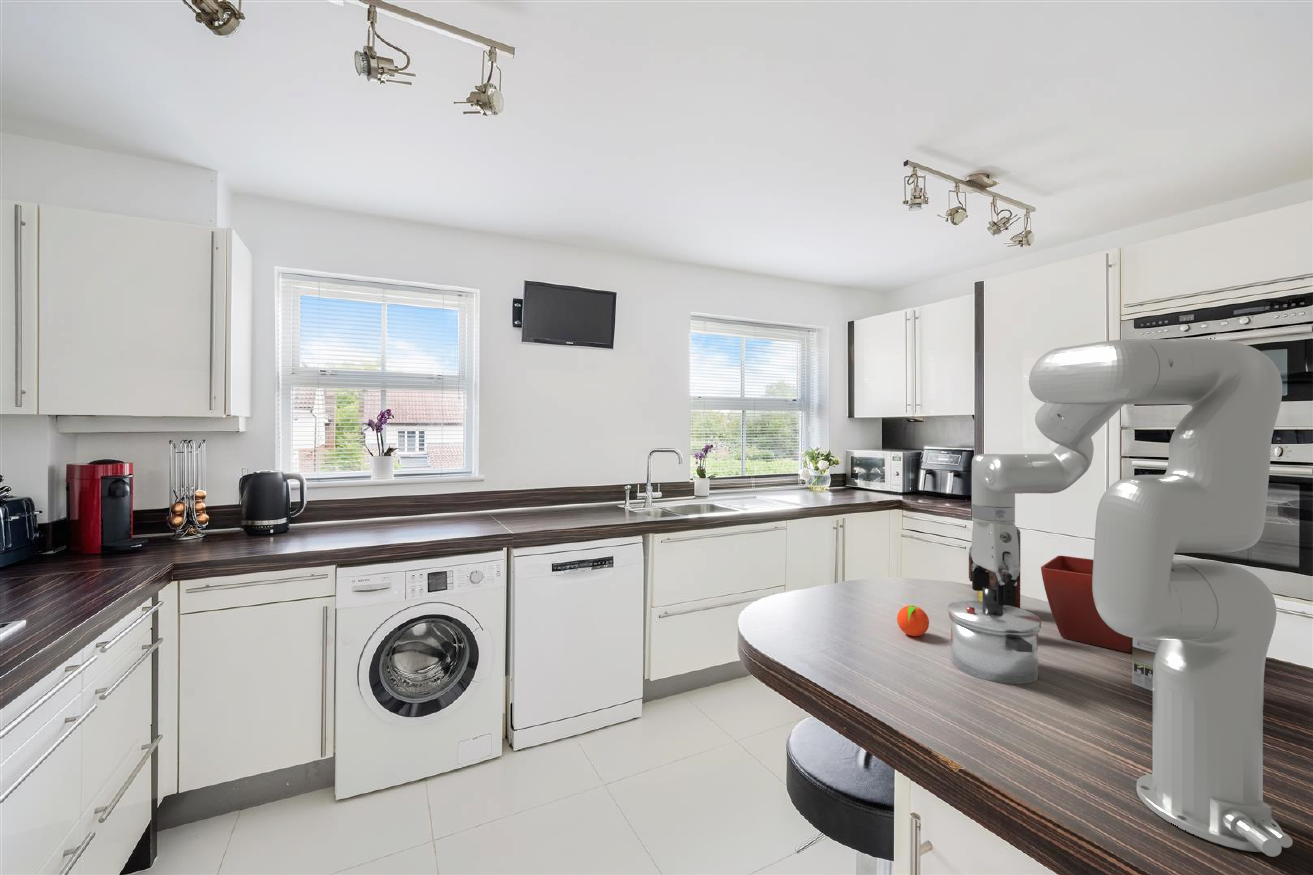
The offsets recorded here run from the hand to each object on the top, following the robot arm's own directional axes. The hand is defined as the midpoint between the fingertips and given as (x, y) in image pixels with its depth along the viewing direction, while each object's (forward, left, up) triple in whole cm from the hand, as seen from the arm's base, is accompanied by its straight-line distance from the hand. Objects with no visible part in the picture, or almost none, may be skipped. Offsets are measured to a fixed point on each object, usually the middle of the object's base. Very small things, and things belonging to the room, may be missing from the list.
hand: (992, 597), depth 108 cm
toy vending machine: (+38, -19, -14) cm, 45 cm away
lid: (0, 0, -4) cm, 4 cm away
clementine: (+16, +10, -15) cm, 24 cm away
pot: (0, 0, -14) cm, 14 cm away
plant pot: (+19, -33, -15) cm, 41 cm away
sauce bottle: (+20, -10, -14) cm, 27 cm away
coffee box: (-6, -28, -14) cm, 32 cm away
